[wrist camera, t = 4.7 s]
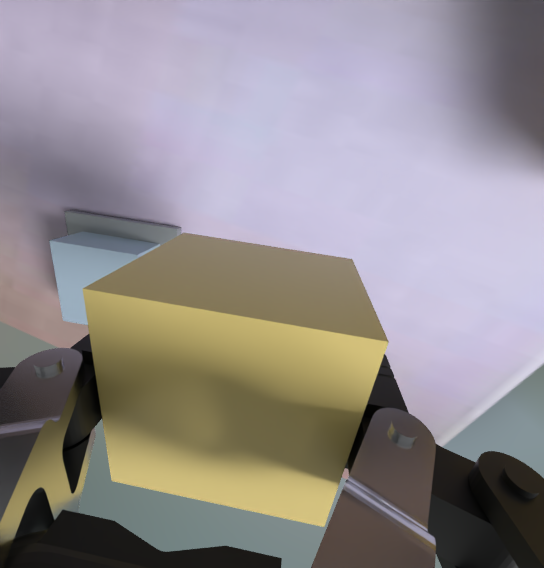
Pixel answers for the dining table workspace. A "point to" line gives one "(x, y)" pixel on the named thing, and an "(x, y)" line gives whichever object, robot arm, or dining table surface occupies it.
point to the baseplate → (119, 226)
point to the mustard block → (234, 372)
